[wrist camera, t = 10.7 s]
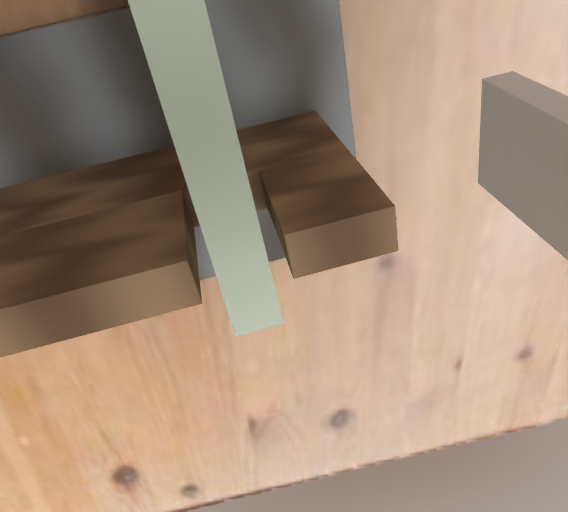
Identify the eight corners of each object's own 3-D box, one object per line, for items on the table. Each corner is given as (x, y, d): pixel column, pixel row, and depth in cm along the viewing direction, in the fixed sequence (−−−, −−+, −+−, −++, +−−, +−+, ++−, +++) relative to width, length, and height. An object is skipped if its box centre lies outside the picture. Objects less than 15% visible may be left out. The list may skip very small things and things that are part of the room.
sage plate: (122, -96, 23) (90, -115, 13) (167, -106, 23) (172, -132, 13) (212, 204, 31) (235, 336, 21) (244, 196, 31) (284, 323, 21)
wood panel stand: (33, 315, 34) (-28, 498, 23) (-116, 62, 25) (-331, 165, 14) (360, 229, 35) (448, 363, 24) (328, -41, 26) (444, -17, 15)
